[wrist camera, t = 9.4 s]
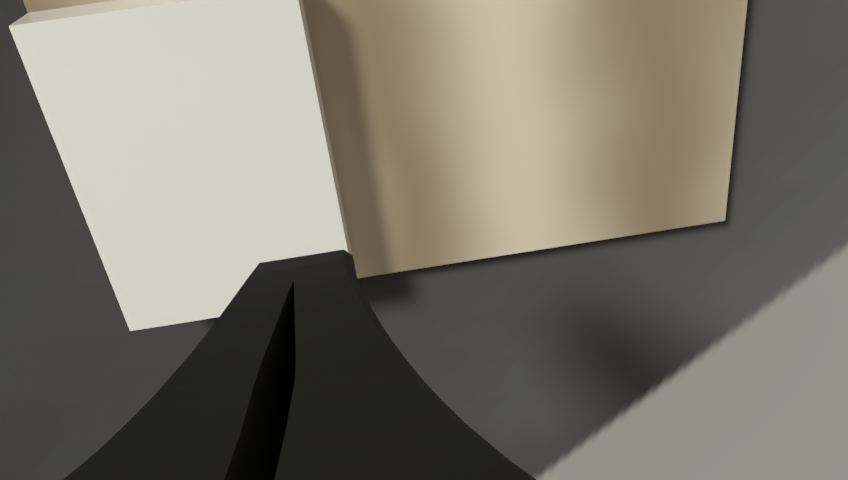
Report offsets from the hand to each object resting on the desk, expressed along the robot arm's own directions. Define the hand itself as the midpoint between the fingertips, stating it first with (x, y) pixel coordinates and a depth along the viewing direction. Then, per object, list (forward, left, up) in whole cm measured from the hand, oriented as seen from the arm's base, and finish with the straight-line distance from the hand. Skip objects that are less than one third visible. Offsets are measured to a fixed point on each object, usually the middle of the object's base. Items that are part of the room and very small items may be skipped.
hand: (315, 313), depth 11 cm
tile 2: (0, +1, -8) cm, 8 cm away
